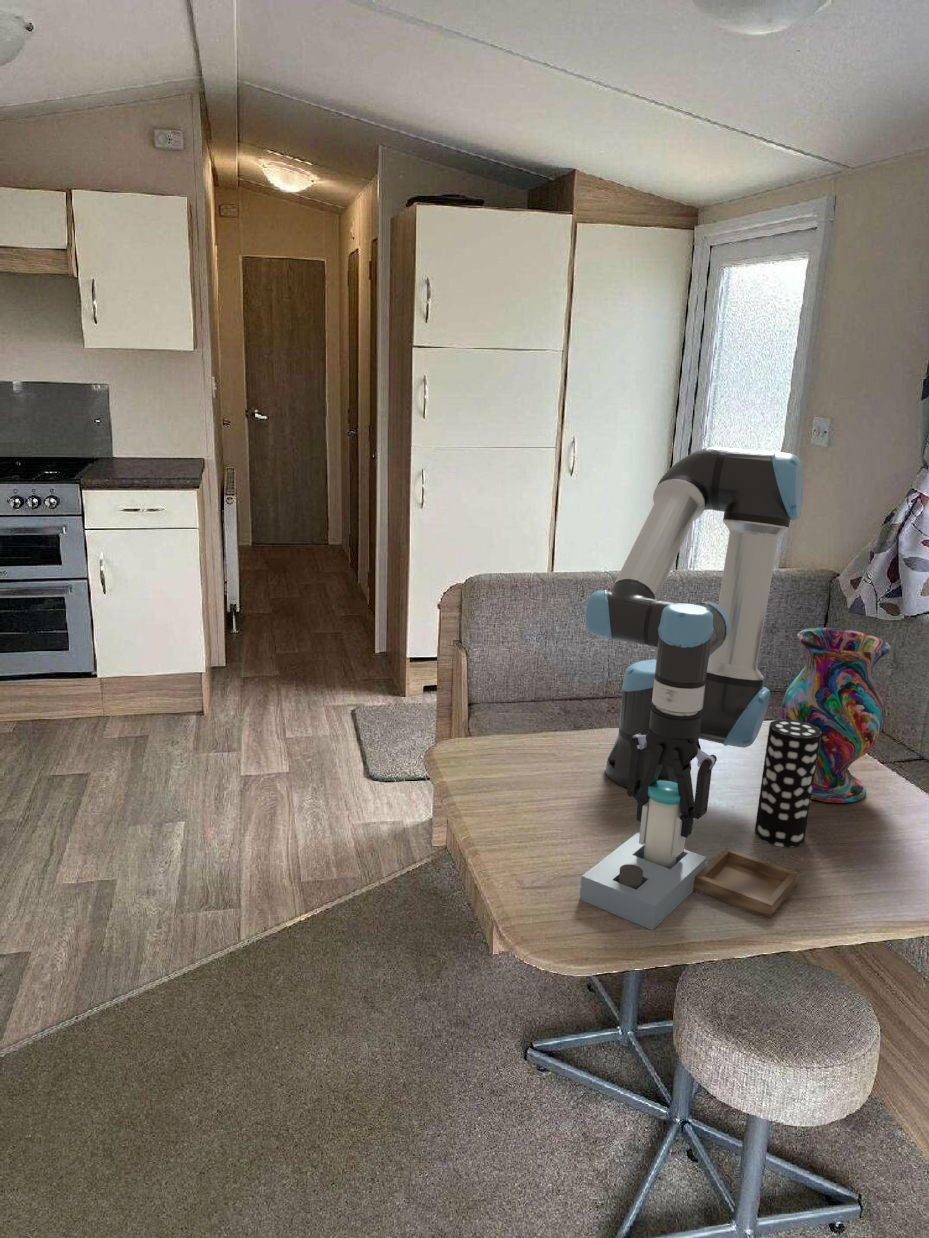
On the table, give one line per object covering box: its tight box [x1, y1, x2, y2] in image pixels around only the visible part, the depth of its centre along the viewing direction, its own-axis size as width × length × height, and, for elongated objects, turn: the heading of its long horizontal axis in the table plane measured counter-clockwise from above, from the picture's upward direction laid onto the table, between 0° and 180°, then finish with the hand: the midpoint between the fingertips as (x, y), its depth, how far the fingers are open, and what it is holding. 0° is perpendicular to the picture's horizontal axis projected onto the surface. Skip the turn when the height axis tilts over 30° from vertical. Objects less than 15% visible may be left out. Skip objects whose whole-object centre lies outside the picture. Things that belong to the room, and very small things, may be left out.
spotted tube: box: [754, 718, 822, 848], centre depth 161 cm, size 8×8×20 cm
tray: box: [693, 846, 800, 920], centre depth 146 cm, size 12×12×2 cm
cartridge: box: [643, 781, 681, 869], centre depth 147 cm, size 6×6×15 cm
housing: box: [579, 831, 708, 931], centre depth 144 cm, size 12×18×4 cm, turn 143°
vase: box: [780, 627, 891, 804], centre depth 181 cm, size 18×18×30 cm
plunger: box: [618, 864, 643, 890], centre depth 140 cm, size 3×3×4 cm
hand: (661, 846), depth 147 cm, fingers closed on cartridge, 5 cm apart
